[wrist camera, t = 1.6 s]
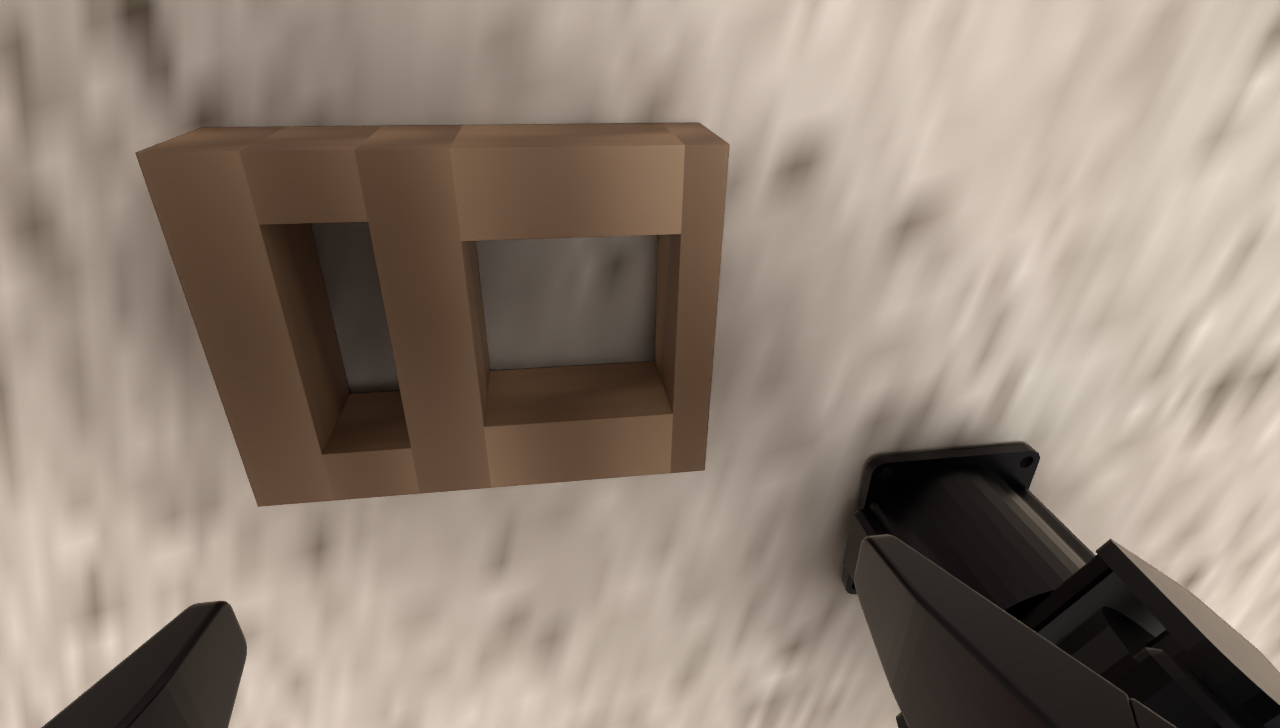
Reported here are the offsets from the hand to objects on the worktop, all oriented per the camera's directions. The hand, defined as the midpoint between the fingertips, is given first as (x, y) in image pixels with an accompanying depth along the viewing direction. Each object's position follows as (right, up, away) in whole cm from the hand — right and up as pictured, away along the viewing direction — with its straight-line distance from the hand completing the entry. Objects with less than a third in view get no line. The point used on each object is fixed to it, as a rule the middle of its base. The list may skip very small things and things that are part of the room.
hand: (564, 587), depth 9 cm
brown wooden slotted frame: (-3, +5, +9) cm, 11 cm away
